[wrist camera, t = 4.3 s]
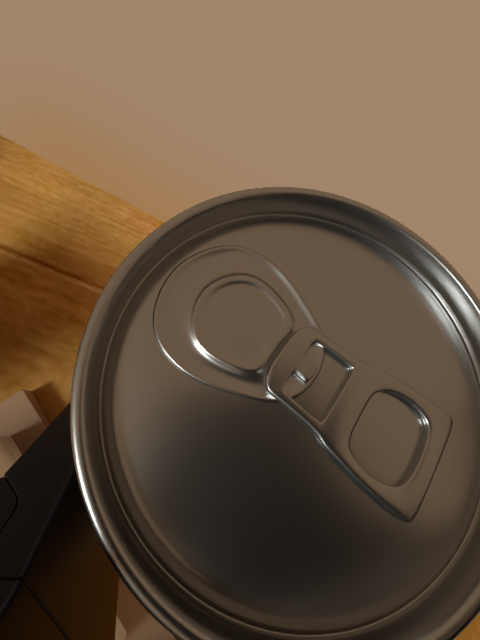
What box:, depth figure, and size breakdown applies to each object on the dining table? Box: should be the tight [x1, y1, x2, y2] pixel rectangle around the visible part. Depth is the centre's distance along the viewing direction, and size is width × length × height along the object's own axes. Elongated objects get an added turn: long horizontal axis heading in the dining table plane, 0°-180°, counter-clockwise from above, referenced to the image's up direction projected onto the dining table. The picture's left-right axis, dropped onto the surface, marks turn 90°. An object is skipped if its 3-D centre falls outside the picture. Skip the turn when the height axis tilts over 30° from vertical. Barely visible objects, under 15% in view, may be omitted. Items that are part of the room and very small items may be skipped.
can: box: [70, 187, 480, 640], centre depth 9 cm, size 6×6×12 cm
